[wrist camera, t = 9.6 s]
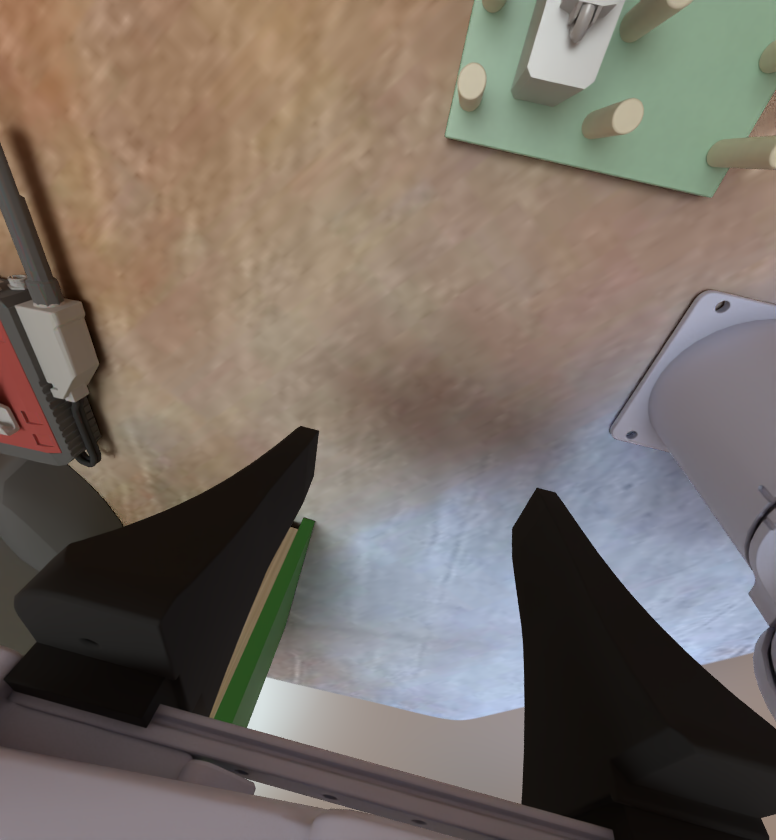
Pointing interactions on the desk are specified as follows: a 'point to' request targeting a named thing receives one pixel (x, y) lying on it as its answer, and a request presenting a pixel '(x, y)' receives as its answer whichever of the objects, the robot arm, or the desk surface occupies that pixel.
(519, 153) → the dish rack
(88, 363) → the walkie-talkie
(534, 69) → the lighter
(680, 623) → the desk surface
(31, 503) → the alarm clock
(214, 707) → the hardback book
